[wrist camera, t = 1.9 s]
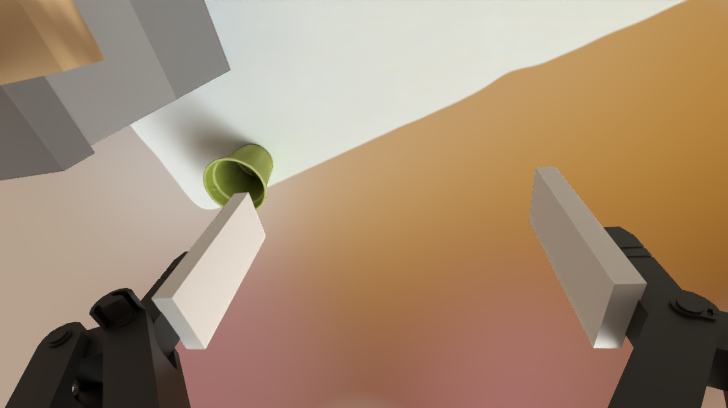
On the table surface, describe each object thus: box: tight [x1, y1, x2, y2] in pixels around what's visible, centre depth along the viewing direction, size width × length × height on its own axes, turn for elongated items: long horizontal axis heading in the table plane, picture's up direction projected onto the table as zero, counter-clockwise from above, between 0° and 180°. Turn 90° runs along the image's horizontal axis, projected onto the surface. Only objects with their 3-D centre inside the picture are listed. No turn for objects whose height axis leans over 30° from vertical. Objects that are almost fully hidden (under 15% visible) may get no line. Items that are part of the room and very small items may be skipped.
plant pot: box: [203, 145, 273, 210], centre depth 54 cm, size 9×9×9 cm
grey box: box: [0, 0, 230, 180], centre depth 34 cm, size 17×17×30 cm
